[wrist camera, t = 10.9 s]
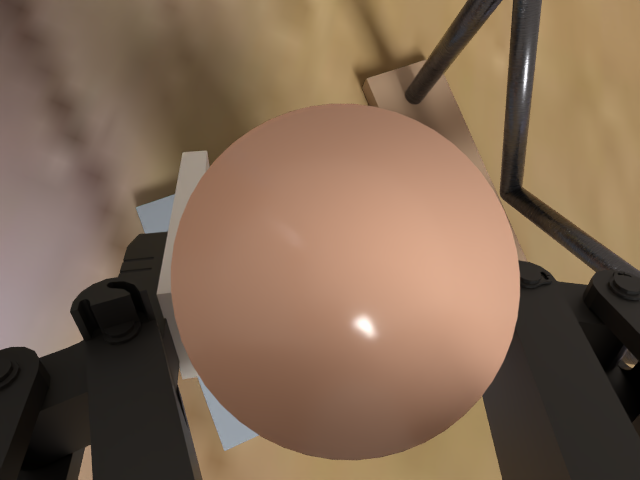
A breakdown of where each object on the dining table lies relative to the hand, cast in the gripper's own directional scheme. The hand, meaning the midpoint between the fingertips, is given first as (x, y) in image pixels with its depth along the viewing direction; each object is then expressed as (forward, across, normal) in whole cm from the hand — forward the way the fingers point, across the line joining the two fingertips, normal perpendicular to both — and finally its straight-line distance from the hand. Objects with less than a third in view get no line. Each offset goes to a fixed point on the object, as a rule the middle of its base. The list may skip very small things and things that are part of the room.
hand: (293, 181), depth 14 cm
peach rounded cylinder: (0, 0, -5) cm, 5 cm away
